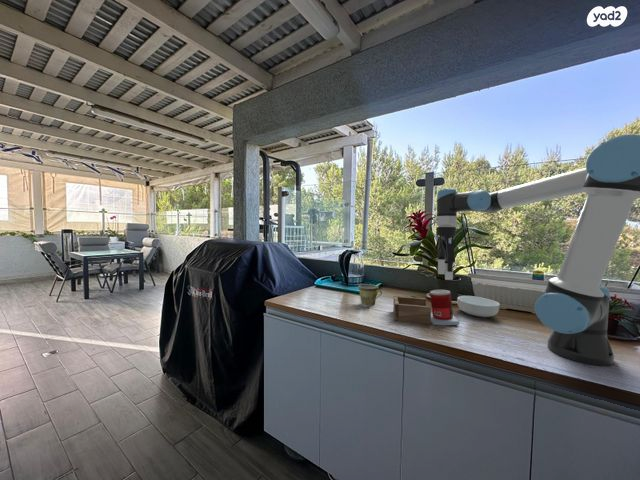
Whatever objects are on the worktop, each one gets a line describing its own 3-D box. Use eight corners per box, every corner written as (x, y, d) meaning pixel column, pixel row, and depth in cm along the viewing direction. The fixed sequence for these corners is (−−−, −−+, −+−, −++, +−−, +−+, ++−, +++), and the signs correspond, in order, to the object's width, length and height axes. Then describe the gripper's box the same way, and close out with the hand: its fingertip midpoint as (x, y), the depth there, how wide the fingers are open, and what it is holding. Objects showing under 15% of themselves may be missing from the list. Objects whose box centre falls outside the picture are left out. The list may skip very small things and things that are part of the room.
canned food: (455, 319, 106) (452, 293, 106) (435, 320, 107) (432, 294, 107) (450, 313, 113) (447, 288, 113) (430, 314, 115) (428, 290, 115)
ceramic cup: (354, 304, 133) (354, 285, 133) (366, 301, 140) (366, 283, 140) (375, 311, 124) (375, 290, 123) (386, 307, 130) (387, 287, 130)
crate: (433, 327, 105) (433, 307, 105) (394, 323, 108) (395, 304, 108) (427, 315, 119) (428, 298, 118) (393, 312, 122) (393, 295, 122)
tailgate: (459, 324, 104) (458, 321, 104) (432, 325, 106) (432, 322, 106) (451, 315, 115) (451, 312, 115) (427, 316, 117) (427, 313, 117)
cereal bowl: (482, 324, 109) (483, 307, 109) (448, 312, 125) (449, 297, 124) (507, 318, 116) (508, 303, 116) (472, 308, 132) (473, 294, 131)
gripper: (431, 226, 122) (430, 271, 122) (443, 225, 97) (441, 281, 98) (448, 226, 120) (447, 272, 121) (465, 226, 96) (463, 282, 96)
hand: (444, 276), depth 109 cm, fingers open, 13 cm apart
